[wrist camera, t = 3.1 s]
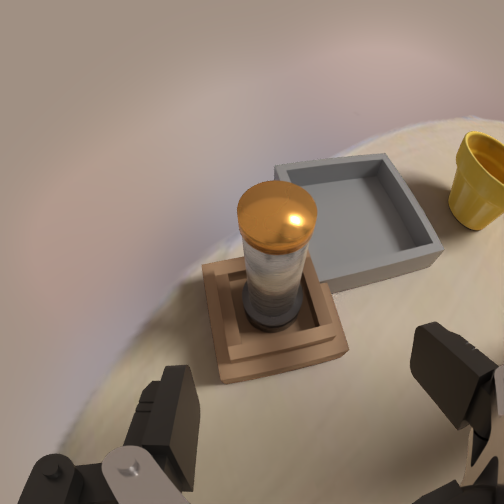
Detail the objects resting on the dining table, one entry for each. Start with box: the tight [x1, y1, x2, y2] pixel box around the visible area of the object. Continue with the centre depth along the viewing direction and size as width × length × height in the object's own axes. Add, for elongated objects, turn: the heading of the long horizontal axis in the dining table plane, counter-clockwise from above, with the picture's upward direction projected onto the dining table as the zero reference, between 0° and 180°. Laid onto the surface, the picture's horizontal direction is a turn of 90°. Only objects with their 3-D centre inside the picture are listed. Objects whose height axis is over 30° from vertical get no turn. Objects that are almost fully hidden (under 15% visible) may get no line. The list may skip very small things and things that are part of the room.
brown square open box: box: [202, 250, 349, 384], centre depth 24 cm, size 10×10×4 cm
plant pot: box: [448, 131, 504, 230], centre depth 28 cm, size 10×10×10 cm
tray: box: [274, 153, 445, 294], centre depth 30 cm, size 14×14×4 cm
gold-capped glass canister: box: [237, 180, 317, 333], centre depth 18 cm, size 4×4×12 cm
